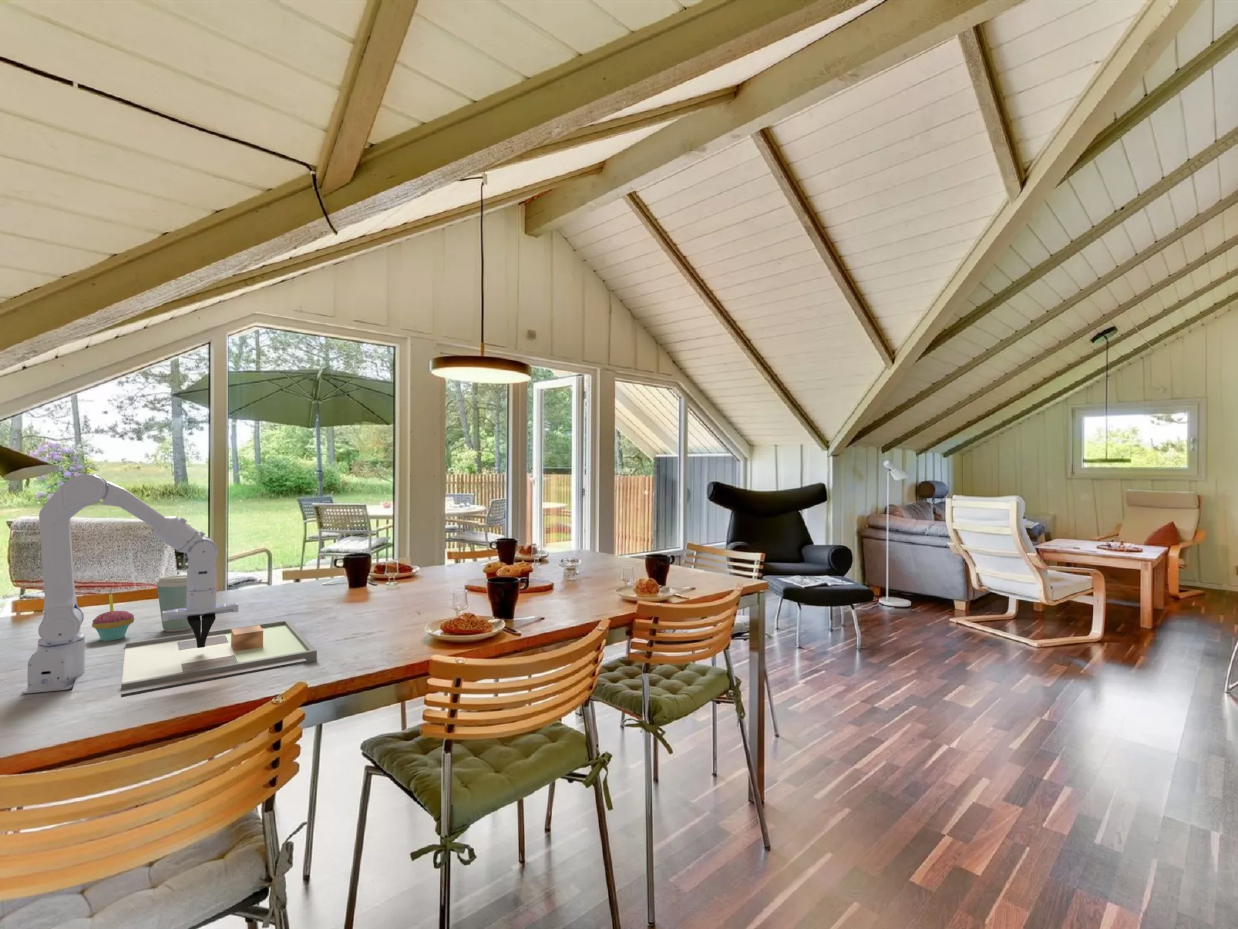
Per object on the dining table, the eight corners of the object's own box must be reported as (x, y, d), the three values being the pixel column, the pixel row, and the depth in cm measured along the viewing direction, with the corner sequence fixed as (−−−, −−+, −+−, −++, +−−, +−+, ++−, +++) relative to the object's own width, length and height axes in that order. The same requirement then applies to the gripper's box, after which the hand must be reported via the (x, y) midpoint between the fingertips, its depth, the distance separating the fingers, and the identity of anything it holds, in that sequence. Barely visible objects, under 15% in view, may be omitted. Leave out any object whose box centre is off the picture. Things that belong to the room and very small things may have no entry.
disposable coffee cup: (163, 625, 167) (163, 572, 167) (207, 622, 171) (208, 570, 171) (148, 635, 157) (148, 579, 157) (196, 632, 161) (196, 577, 161)
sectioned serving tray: (121, 697, 117) (121, 684, 117) (125, 652, 143) (125, 642, 143) (316, 661, 139) (316, 650, 139) (288, 628, 165) (288, 619, 165)
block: (234, 651, 140) (234, 634, 140) (231, 645, 145) (231, 629, 145) (263, 646, 144) (263, 630, 144) (259, 641, 149) (259, 625, 149)
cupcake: (85, 639, 153) (86, 593, 153) (124, 631, 161) (125, 587, 161) (101, 644, 149) (101, 597, 149) (140, 636, 157) (141, 591, 157)
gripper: (236, 582, 146) (235, 637, 146) (162, 589, 137) (161, 648, 137) (239, 587, 141) (238, 644, 141) (163, 595, 132) (162, 655, 132)
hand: (200, 646), depth 139 cm, fingers closed
